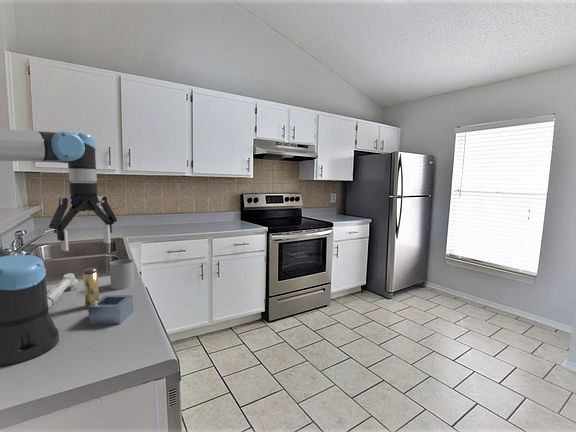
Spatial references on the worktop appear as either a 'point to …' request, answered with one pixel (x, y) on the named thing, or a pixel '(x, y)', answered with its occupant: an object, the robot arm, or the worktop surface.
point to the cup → (121, 274)
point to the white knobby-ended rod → (62, 288)
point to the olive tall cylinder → (90, 286)
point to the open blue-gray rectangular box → (110, 309)
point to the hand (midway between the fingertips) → (87, 246)
